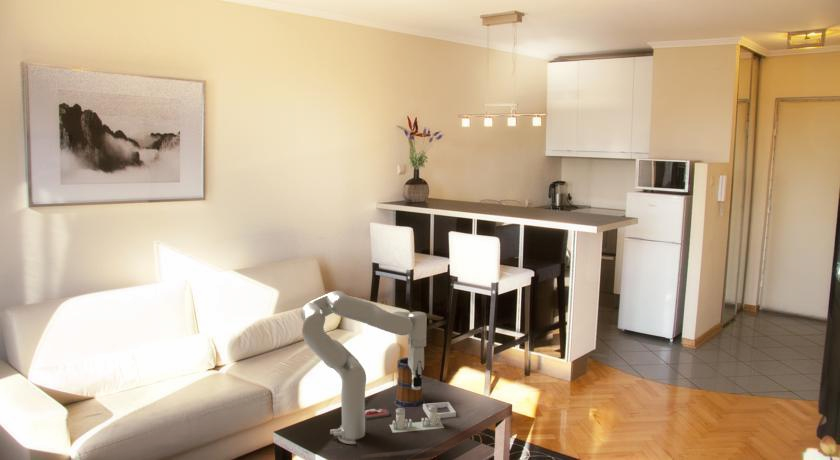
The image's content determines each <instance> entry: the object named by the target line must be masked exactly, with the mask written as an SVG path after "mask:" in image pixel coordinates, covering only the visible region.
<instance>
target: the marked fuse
mask: <svg viewBox="0 0 840 460" xmlns="http://www.w3.org/2000/svg"><path fill="white" fill-rule="evenodd" d="M416 370H418V369H416ZM416 373H418V372H416ZM413 382H414V371H412V389H413V390H419V389H421V386H422V385H421V386H420V387H414V386H413Z"/></svg>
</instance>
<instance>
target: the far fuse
mask: <svg viewBox="0 0 840 460" xmlns="http://www.w3.org/2000/svg"><path fill="white" fill-rule="evenodd" d="M428 411H429V418H428V425H429V426H431V427H435V426H437V413H438V408H437V406H436V405H430V406H428Z"/></svg>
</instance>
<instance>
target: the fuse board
mask: <svg viewBox="0 0 840 460" xmlns="http://www.w3.org/2000/svg"><path fill="white" fill-rule="evenodd" d="M441 419H442V418H440V417H437V426H435V427H431V426H429V425H428V421H429V418H428V417H421V421H415V422H413V420H412V419H411V418H408V419H407V418H405V429H403V430H398V429H396V419H394V420H392V424H389V427H390V429H391V432H392V434H394V433H405V432H415V431H426V430H436V429H445V427H444V425H443V423H442V422H441Z"/></svg>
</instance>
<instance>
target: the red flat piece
mask: <svg viewBox="0 0 840 460" xmlns="http://www.w3.org/2000/svg"><path fill="white" fill-rule="evenodd" d="M390 416H391V414H390V411H389V410H388V409H387V408H383V409H382V408H379V409H375V408H370V409H365V421H367V420H374V419H380V418H388V417H390Z"/></svg>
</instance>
